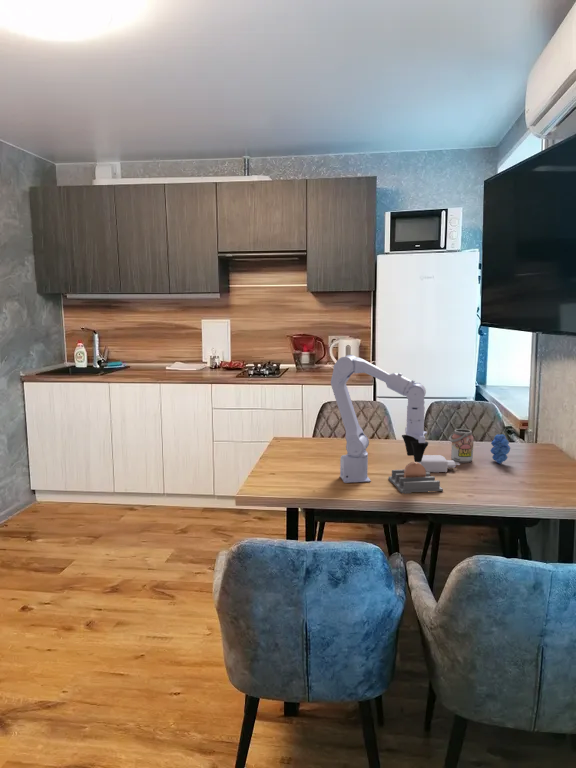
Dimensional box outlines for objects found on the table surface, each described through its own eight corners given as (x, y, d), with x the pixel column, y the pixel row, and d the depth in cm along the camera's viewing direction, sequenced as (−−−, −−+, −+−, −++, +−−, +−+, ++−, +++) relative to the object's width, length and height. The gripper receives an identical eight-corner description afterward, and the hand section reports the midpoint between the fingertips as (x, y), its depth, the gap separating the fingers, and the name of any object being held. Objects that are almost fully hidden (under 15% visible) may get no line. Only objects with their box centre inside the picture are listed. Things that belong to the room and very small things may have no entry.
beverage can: (452, 463, 213) (453, 433, 212) (445, 457, 222) (446, 428, 220) (475, 463, 214) (477, 433, 212) (468, 457, 222) (469, 428, 220)
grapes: (517, 467, 208) (519, 436, 206) (500, 468, 207) (502, 437, 206) (502, 459, 219) (504, 429, 218) (486, 459, 219) (487, 430, 217)
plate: (405, 483, 187) (406, 463, 186) (403, 481, 189) (404, 462, 188) (425, 483, 187) (426, 463, 186) (423, 481, 189) (424, 461, 188)
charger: (462, 473, 201) (421, 473, 202) (456, 466, 210) (416, 465, 211) (463, 461, 201) (421, 460, 202) (456, 454, 210) (417, 454, 211)
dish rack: (401, 493, 180) (402, 483, 180) (388, 479, 195) (388, 469, 194) (442, 491, 182) (443, 481, 181) (426, 477, 196) (427, 468, 196)
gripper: (434, 423, 179) (433, 464, 181) (419, 414, 193) (418, 452, 195) (413, 424, 178) (412, 464, 180) (400, 415, 192) (398, 453, 194)
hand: (414, 458), depth 187 cm, fingers open, 7 cm apart
